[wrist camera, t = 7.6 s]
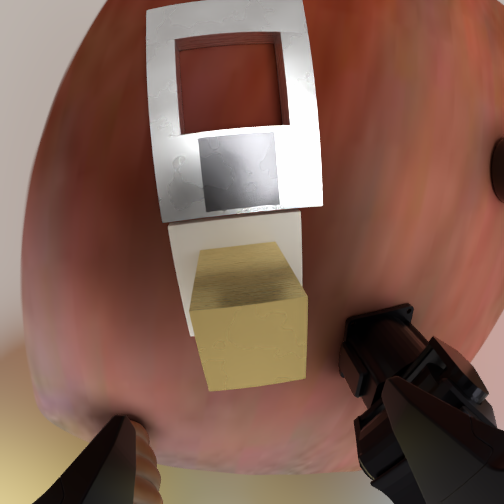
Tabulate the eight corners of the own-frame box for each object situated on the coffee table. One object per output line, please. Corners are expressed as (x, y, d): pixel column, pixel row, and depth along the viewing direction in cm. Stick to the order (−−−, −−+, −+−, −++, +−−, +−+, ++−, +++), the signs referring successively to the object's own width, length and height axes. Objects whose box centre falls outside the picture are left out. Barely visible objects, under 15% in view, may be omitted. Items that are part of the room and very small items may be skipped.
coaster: (297, 208, 18) (300, 211, 17) (299, 316, 20) (302, 322, 20) (169, 222, 17) (167, 226, 16) (191, 330, 20) (190, 336, 19)
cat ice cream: (146, 450, 25) (135, 578, 9) (88, 420, 23) (54, 552, 6) (186, 424, 24) (185, 587, 7) (117, 387, 21) (76, 564, 5)
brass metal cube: (275, 241, 17) (307, 296, 11) (278, 306, 19) (305, 378, 12) (200, 250, 17) (189, 311, 10) (210, 314, 19) (209, 391, 12)
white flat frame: (294, 12, 13) (302, -1, 11) (311, 199, 17) (323, 206, 16) (153, 23, 12) (146, 9, 10) (168, 215, 17) (161, 223, 15)
